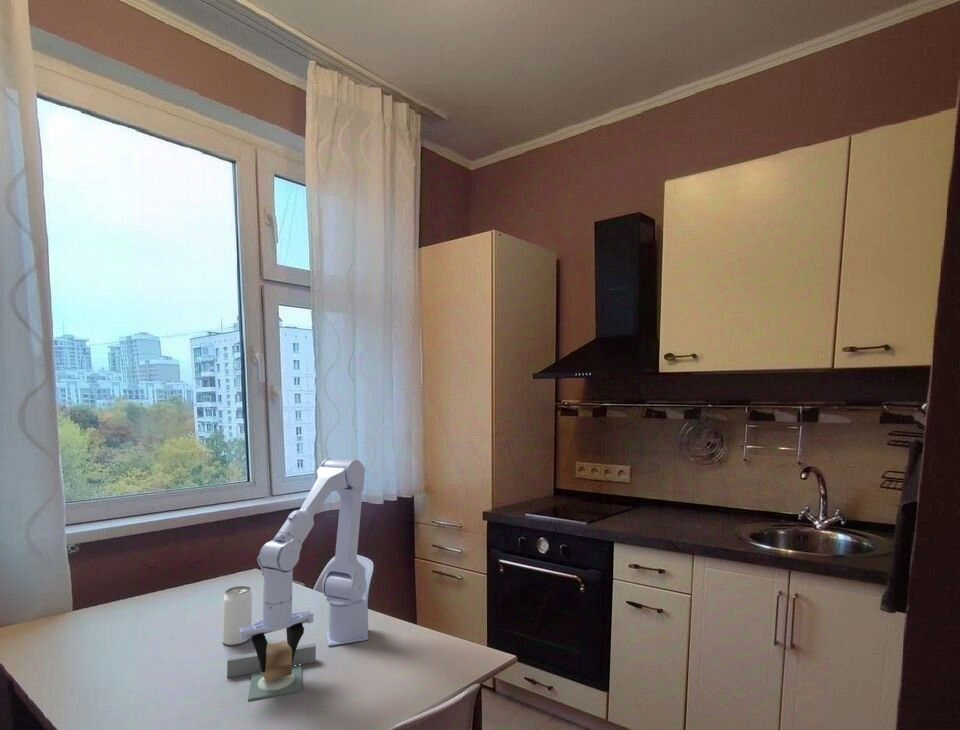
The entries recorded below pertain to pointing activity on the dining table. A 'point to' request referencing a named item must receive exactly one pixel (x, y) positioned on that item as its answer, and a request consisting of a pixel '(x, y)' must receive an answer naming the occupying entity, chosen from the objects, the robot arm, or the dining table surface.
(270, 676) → the walnut block
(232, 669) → the low wall
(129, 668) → the dining table surface
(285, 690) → the mat
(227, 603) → the can
